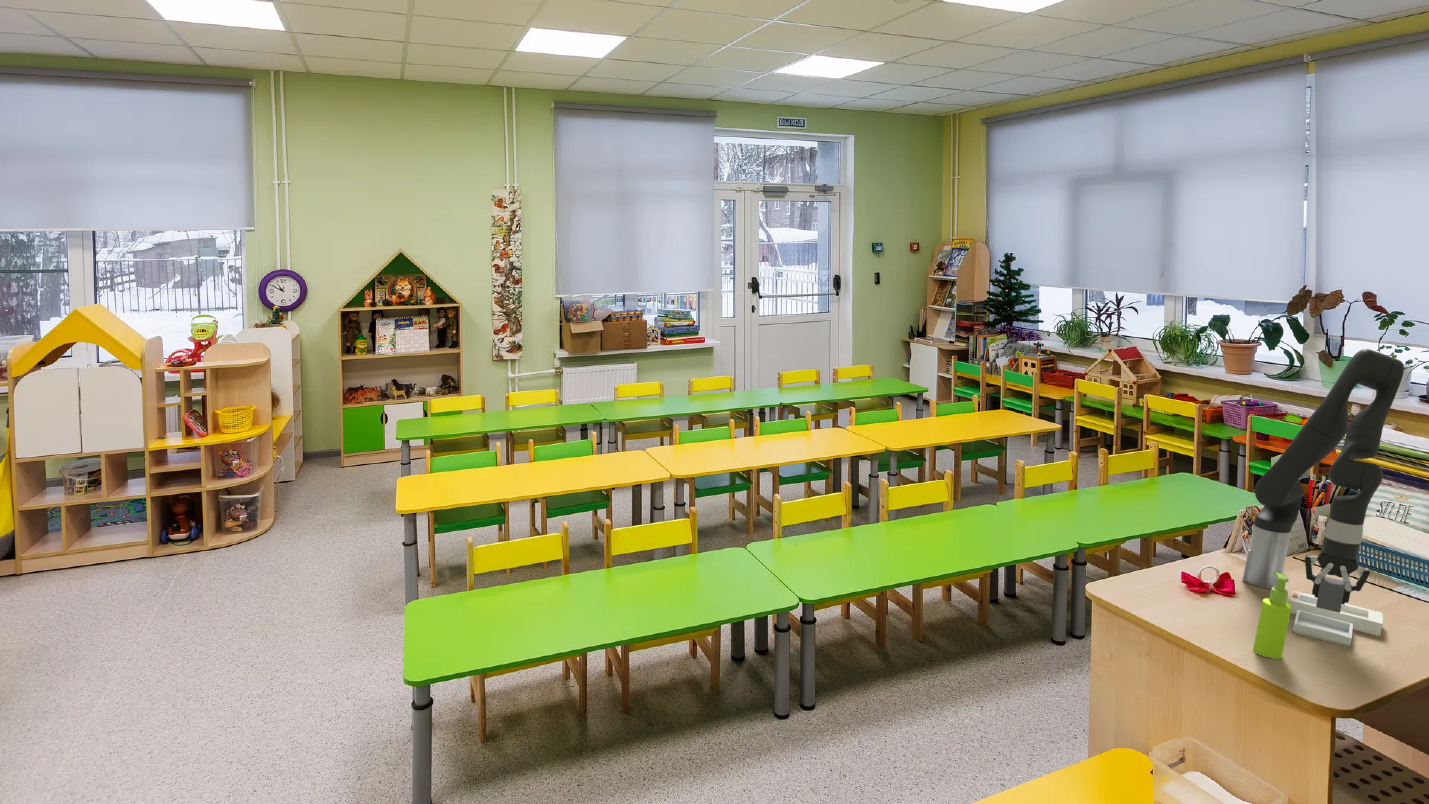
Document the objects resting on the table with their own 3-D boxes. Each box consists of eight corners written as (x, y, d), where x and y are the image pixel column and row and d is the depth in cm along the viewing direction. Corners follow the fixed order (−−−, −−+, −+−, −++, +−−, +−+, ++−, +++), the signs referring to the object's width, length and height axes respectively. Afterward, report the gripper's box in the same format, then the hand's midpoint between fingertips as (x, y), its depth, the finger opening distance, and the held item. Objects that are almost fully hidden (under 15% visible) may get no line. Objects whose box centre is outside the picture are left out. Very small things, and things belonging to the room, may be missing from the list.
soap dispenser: (1276, 648, 209) (1291, 572, 205) (1284, 661, 202) (1300, 583, 198) (1249, 643, 211) (1263, 568, 207) (1256, 656, 204) (1271, 578, 200)
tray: (1292, 632, 219) (1294, 623, 218) (1295, 618, 227) (1297, 609, 227) (1349, 647, 211) (1351, 638, 211) (1350, 632, 220) (1352, 623, 220)
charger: (1315, 607, 217) (1320, 581, 216) (1317, 598, 223) (1322, 573, 222) (1339, 612, 214) (1344, 586, 213) (1340, 604, 220) (1345, 578, 219)
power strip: (1287, 612, 231) (1290, 598, 230) (1290, 602, 238) (1293, 588, 237) (1379, 636, 219) (1383, 621, 218) (1380, 624, 226) (1383, 610, 225)
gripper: (1307, 534, 215) (1295, 596, 219) (1378, 548, 207) (1364, 613, 210) (1309, 526, 221) (1297, 587, 225) (1378, 541, 213) (1364, 604, 216)
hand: (1329, 599), depth 217 cm, fingers closed on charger, 5 cm apart
